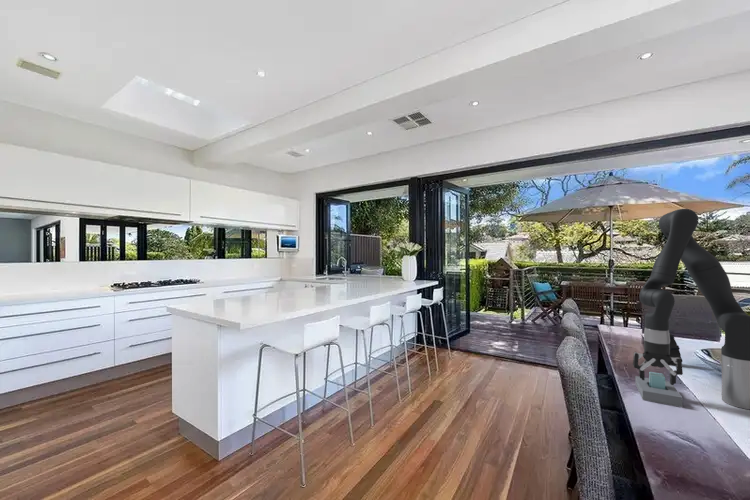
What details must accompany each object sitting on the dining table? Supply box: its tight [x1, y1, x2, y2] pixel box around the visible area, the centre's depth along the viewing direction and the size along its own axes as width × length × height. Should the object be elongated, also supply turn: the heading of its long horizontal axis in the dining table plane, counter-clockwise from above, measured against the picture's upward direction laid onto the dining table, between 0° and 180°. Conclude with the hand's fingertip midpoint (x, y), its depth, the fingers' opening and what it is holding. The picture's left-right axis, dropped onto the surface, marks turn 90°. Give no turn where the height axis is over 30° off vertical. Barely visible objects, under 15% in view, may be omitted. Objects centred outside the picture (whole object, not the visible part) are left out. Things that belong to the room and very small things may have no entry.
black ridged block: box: [668, 332, 683, 367], centre depth 156 cm, size 4×13×15 cm, turn 51°
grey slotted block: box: [635, 375, 683, 408], centre depth 123 cm, size 16×11×4 cm
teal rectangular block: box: [648, 371, 666, 390], centre depth 123 cm, size 4×4×8 cm
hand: (657, 381), depth 123 cm, fingers open, 8 cm apart
